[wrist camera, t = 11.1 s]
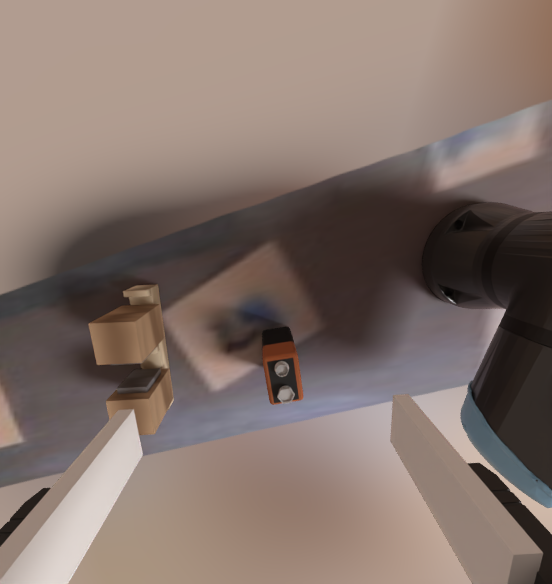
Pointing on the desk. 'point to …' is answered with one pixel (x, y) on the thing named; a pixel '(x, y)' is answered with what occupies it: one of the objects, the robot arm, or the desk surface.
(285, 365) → the battery
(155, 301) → the rail
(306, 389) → the desk surface
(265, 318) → the desk surface
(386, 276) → the desk surface
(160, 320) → the cardboard box
